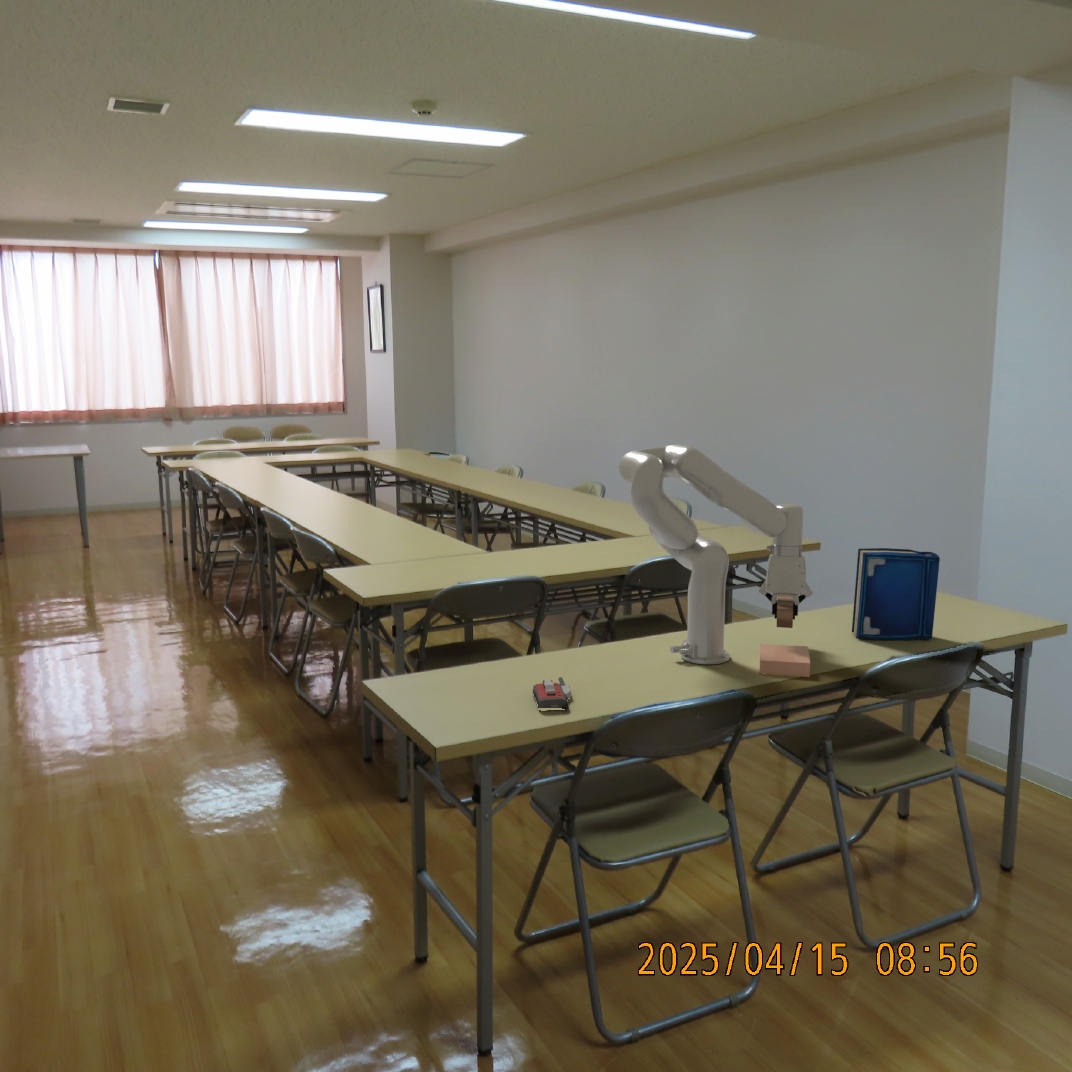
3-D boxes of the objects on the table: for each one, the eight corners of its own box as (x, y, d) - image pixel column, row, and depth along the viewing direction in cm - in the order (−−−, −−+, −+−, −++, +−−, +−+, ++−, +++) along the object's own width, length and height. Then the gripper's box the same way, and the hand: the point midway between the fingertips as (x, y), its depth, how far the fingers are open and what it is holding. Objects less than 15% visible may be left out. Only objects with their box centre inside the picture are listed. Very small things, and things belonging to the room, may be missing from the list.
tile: (807, 661, 241) (809, 678, 228) (759, 658, 244) (759, 675, 231) (807, 646, 240) (810, 663, 227) (760, 644, 243) (759, 660, 230)
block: (792, 628, 239) (793, 609, 238) (776, 627, 240) (777, 608, 239) (792, 610, 256) (792, 593, 255) (777, 609, 257) (777, 592, 256)
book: (929, 634, 262) (934, 547, 258) (937, 641, 255) (943, 552, 251) (850, 633, 264) (854, 547, 260) (856, 640, 257) (861, 552, 253)
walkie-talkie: (577, 713, 207) (564, 683, 227) (577, 694, 206) (564, 666, 226) (538, 715, 206) (529, 685, 226) (538, 696, 205) (528, 668, 225)
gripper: (753, 552, 243) (752, 619, 246) (820, 554, 239) (817, 623, 242) (754, 547, 250) (753, 612, 253) (819, 549, 246) (816, 616, 249)
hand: (784, 617), depth 247 cm, fingers closed on block, 4 cm apart
